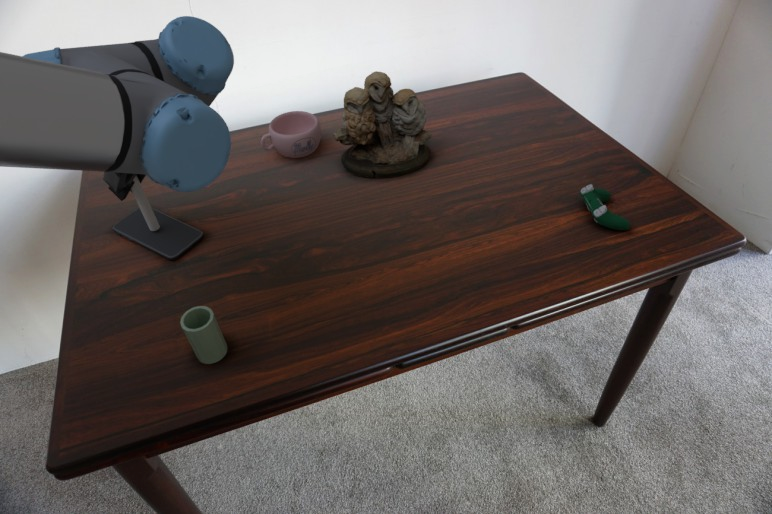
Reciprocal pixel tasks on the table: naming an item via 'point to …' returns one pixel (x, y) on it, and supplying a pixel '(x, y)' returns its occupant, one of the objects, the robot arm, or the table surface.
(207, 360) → the pen holder
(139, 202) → the stylus
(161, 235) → the smartphone
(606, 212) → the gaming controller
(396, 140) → the owl figurine
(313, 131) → the mug
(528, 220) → the table surface
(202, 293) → the table surface
